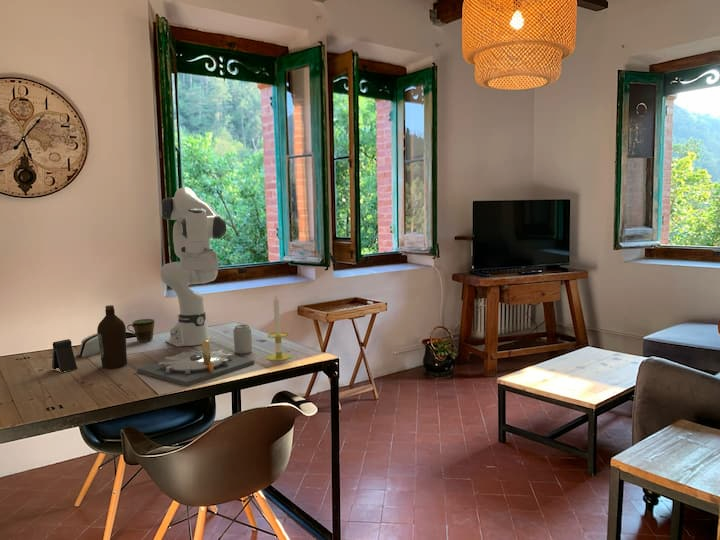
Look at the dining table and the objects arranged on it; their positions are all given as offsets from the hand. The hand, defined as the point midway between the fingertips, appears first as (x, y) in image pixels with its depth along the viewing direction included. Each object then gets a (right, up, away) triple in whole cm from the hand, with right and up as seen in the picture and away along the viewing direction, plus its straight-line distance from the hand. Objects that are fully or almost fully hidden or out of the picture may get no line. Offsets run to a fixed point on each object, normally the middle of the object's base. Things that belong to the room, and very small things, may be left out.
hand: (201, 281), depth 227 cm
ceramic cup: (-40, -30, +40) cm, 64 cm away
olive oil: (-35, -35, -1) cm, 50 cm away
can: (+15, -32, +13) cm, 37 cm away
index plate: (+1, -34, -8) cm, 35 cm away
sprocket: (+1, -33, -9) cm, 34 cm away
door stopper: (-54, -36, -4) cm, 65 cm away
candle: (+32, -32, +3) cm, 45 cm away
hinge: (-53, -33, +22) cm, 67 cm away
